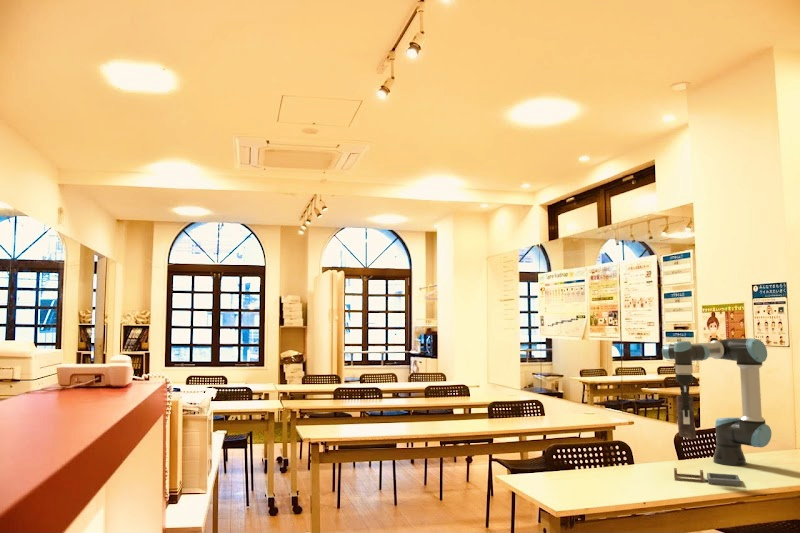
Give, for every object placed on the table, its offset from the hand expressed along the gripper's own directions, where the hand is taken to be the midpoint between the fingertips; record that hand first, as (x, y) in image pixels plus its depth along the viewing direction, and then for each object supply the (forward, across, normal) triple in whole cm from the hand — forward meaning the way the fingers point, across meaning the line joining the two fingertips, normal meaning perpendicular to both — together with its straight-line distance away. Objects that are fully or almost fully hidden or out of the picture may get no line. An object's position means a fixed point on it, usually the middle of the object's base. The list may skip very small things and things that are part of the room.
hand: (686, 422), depth 303 cm
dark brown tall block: (+7, 0, 0) cm, 7 cm away
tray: (+26, +1, +14) cm, 30 cm away
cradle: (+26, 0, 0) cm, 26 cm away
